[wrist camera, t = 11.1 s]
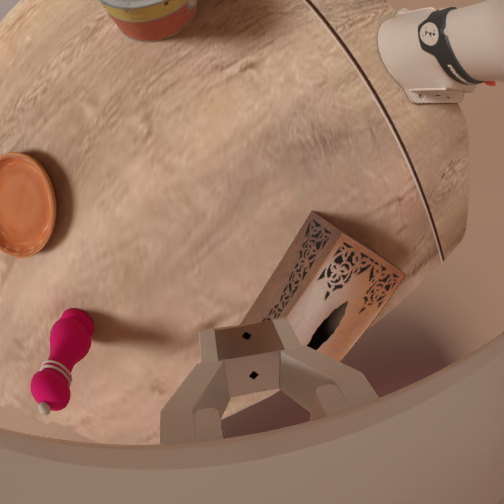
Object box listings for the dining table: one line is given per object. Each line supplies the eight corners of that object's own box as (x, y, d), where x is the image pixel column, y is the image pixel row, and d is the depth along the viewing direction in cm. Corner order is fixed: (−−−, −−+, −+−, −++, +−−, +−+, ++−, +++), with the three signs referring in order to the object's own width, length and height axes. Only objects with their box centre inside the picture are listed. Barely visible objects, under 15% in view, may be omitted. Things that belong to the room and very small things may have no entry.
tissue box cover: (311, 210, 43) (342, 232, 34) (372, 248, 48) (406, 274, 39) (230, 338, 49) (239, 380, 40) (294, 357, 54) (311, 393, 45)
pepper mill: (72, 297, 40) (27, 387, 22) (104, 325, 43) (76, 420, 25) (53, 319, 41) (12, 404, 23) (83, 345, 44) (55, 434, 26)
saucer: (57, 262, 37) (49, 270, 35) (-14, 238, 32) (-23, 244, 30) (71, 160, 32) (62, 162, 30) (-7, 144, 28) (-17, 146, 25)
